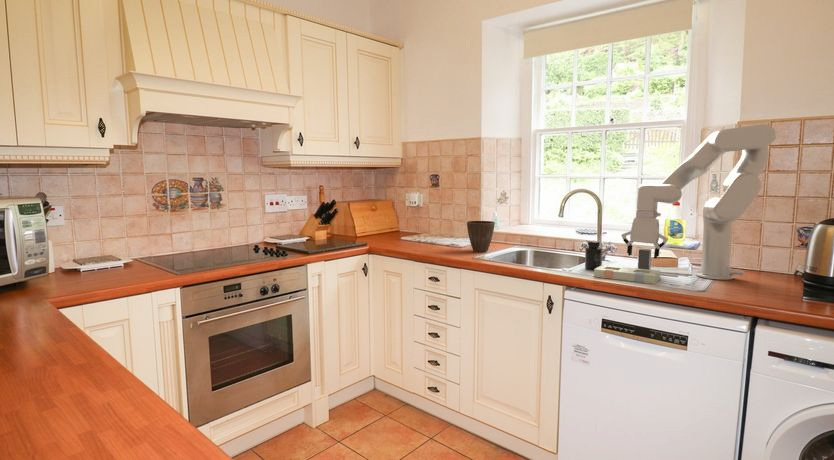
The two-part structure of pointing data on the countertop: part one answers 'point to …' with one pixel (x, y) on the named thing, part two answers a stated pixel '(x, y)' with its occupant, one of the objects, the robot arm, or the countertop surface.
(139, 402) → the countertop surface
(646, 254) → the dark grey tall block
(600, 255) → the supplement bottle
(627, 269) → the socket board
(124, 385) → the countertop surface
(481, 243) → the plant pot
